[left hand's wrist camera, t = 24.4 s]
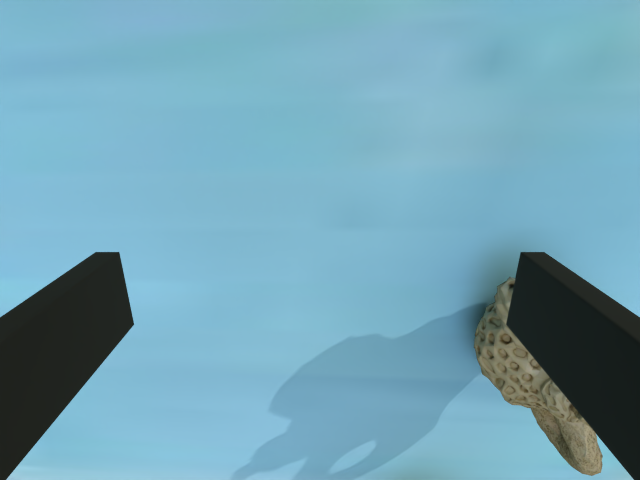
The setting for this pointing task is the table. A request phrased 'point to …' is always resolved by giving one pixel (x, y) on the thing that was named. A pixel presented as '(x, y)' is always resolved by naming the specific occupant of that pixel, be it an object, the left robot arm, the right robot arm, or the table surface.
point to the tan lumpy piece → (532, 386)
